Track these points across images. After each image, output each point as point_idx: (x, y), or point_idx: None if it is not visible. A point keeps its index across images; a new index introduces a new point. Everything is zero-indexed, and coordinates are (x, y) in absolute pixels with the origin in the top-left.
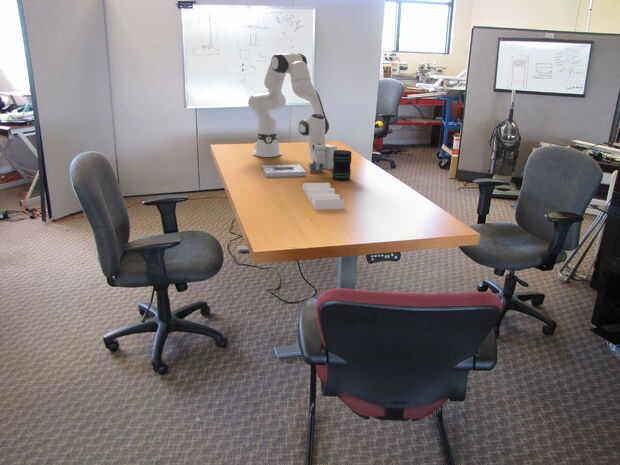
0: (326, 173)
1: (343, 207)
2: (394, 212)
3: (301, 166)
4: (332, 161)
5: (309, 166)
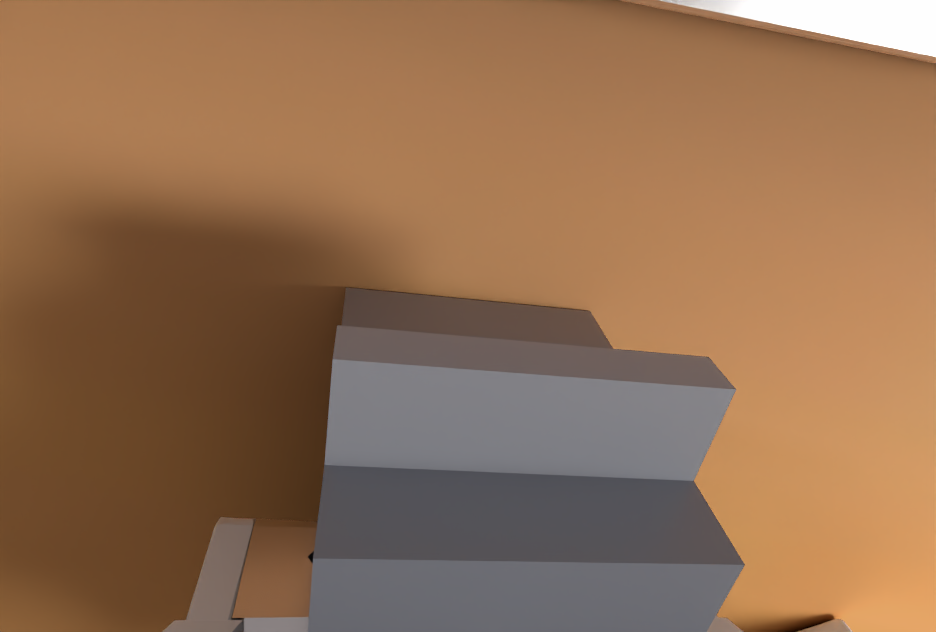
0: None
1: None
2: None
3: (859, 31)
4: None
5: (335, 368)
